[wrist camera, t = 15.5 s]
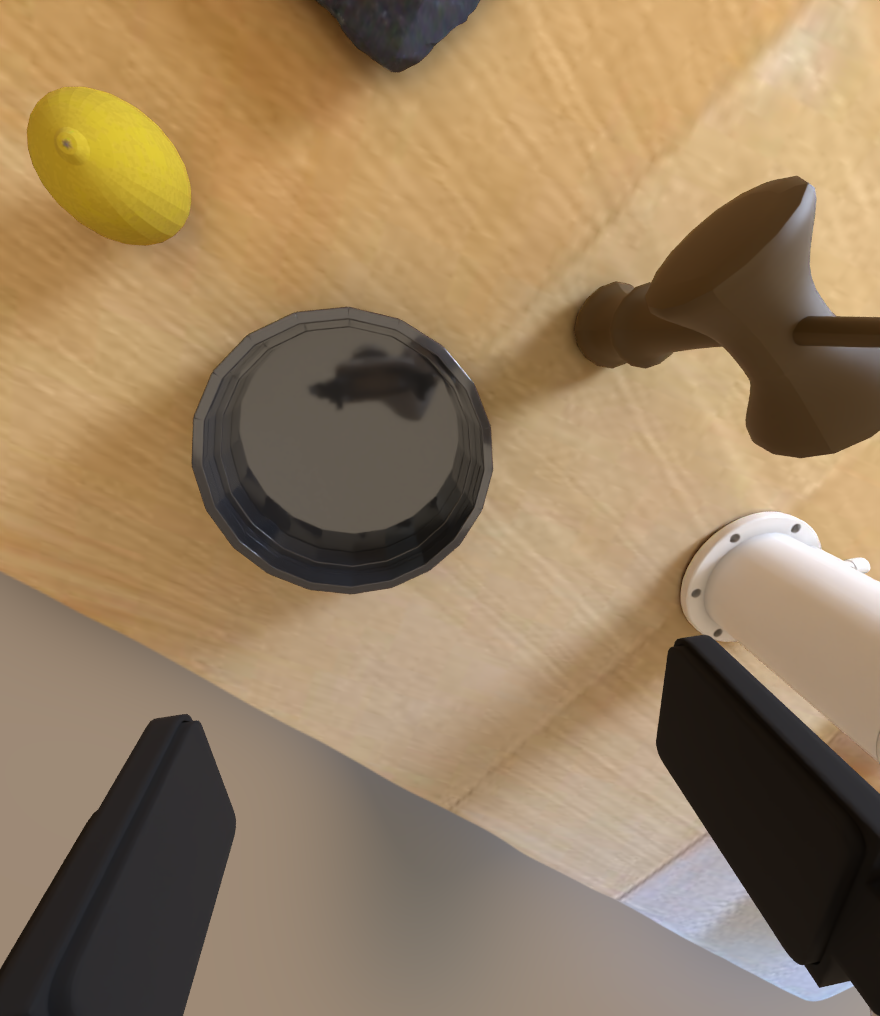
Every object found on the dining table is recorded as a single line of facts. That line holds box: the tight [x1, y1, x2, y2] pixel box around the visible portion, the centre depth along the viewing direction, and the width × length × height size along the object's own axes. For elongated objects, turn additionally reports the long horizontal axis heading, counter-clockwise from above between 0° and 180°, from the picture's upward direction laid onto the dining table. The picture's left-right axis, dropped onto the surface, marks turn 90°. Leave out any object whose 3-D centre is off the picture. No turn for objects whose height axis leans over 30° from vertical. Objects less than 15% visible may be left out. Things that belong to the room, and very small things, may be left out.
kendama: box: [574, 176, 880, 458], centre depth 21 cm, size 6×10×20 cm, turn 50°
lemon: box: [27, 87, 191, 246], centre depth 21 cm, size 6×6×8 cm
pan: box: [192, 307, 493, 594], centre depth 29 cm, size 17×17×4 cm
